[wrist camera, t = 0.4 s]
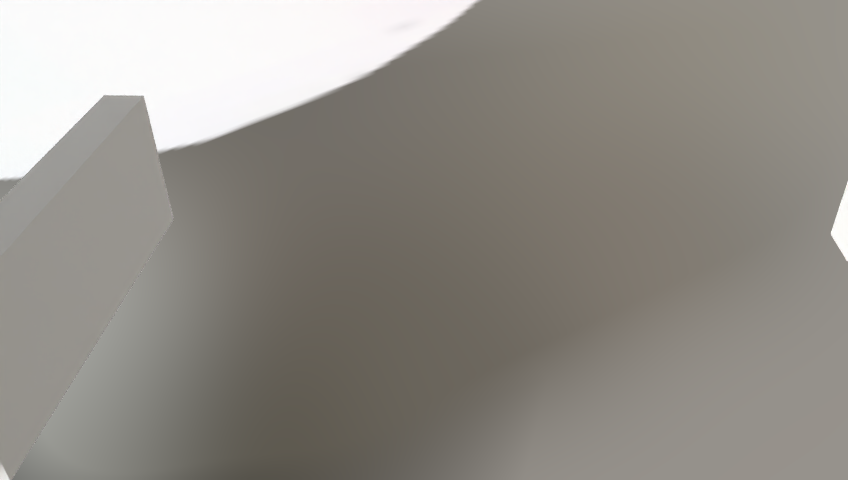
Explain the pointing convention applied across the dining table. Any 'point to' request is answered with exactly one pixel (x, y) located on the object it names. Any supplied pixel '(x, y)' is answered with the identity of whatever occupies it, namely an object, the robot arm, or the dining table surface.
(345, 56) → the dining table surface
